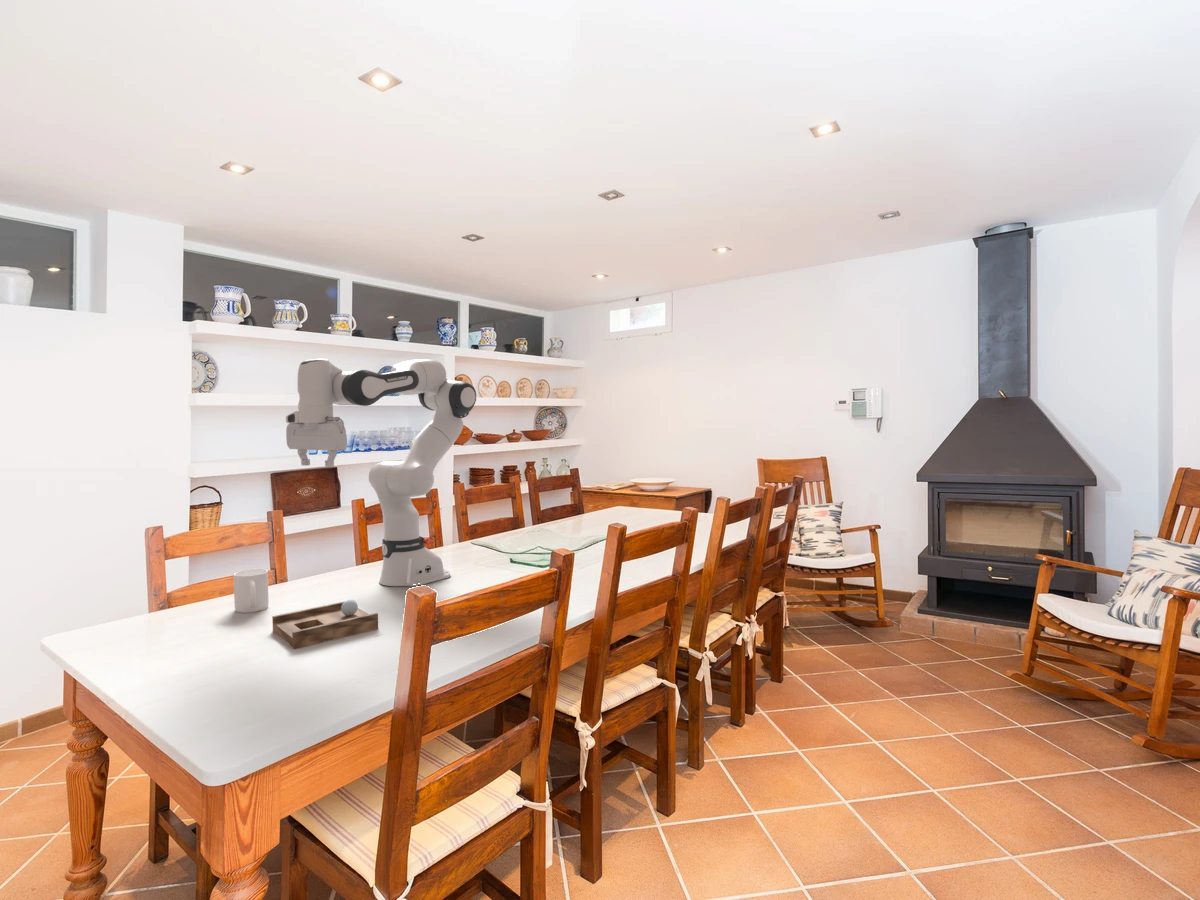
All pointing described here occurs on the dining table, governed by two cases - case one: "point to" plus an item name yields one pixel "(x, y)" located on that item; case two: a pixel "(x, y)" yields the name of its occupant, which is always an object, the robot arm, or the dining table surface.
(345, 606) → the ball
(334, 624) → the wooden tray
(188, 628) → the dining table surface
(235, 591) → the mug
